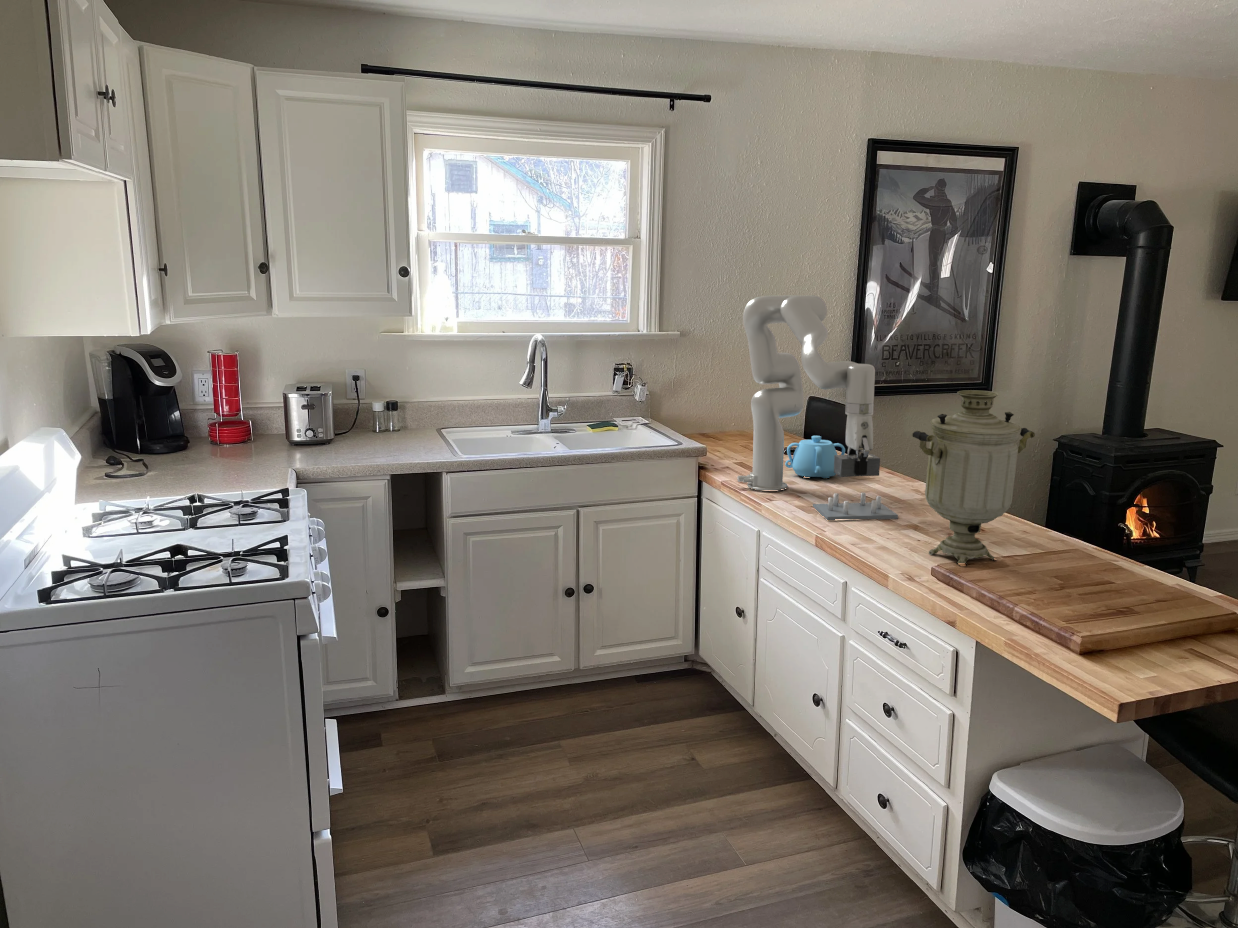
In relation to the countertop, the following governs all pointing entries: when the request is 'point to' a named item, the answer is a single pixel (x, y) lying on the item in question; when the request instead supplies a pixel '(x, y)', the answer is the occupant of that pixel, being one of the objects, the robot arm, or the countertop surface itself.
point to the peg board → (855, 509)
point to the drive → (846, 465)
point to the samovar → (971, 470)
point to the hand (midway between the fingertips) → (856, 471)
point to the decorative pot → (813, 457)
